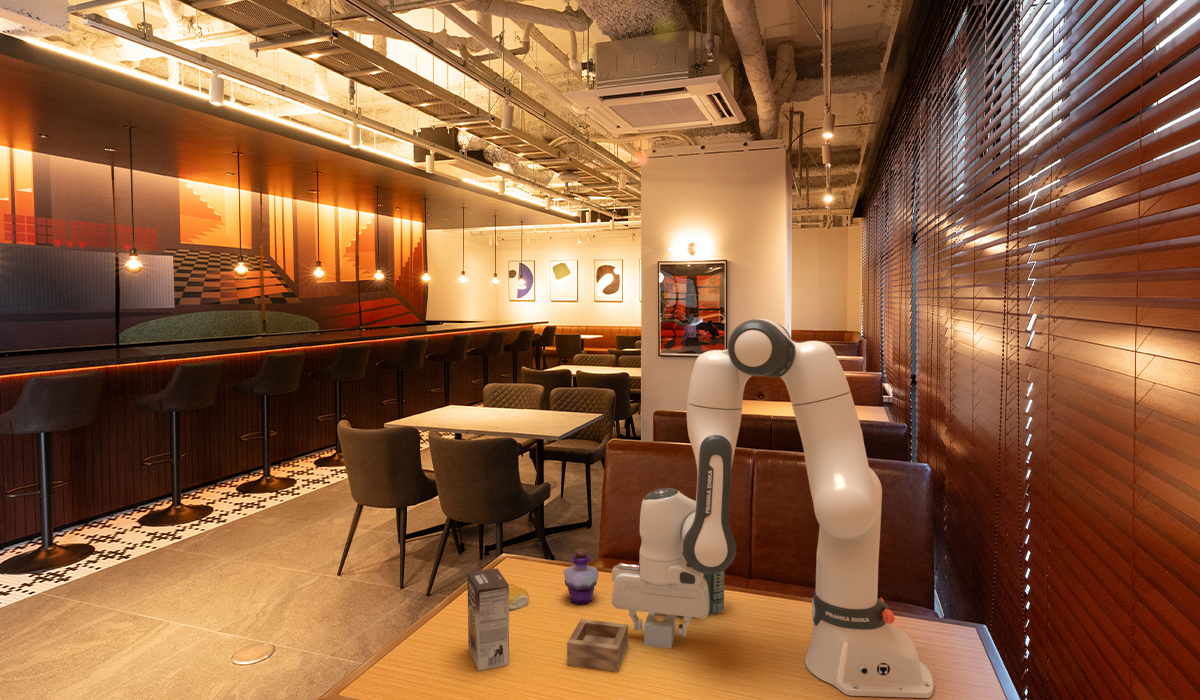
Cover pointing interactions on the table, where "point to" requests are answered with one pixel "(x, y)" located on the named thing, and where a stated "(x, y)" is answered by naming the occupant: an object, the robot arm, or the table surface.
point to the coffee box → (488, 618)
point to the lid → (659, 630)
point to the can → (715, 591)
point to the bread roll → (517, 597)
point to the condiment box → (597, 645)
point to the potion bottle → (580, 578)
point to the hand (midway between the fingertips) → (660, 632)
